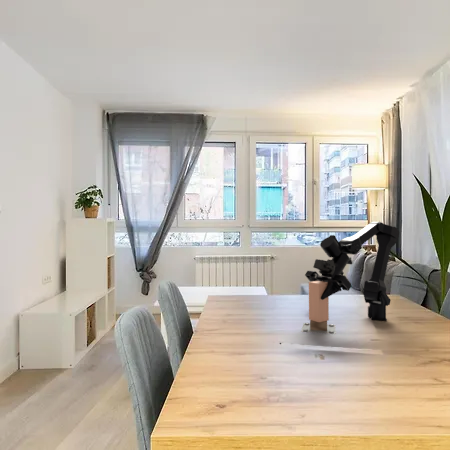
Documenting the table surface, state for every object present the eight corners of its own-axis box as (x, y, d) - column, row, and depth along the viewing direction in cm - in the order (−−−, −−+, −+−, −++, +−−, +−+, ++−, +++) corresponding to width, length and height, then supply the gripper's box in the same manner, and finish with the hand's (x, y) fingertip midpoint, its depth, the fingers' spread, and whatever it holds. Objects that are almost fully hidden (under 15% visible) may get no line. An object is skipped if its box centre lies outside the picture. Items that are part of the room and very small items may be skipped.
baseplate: (335, 328, 150) (335, 324, 150) (335, 337, 139) (335, 332, 139) (303, 326, 154) (303, 322, 154) (301, 335, 142) (301, 330, 142)
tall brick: (318, 317, 150) (318, 280, 149) (328, 320, 145) (328, 282, 145) (309, 319, 147) (308, 282, 147) (318, 322, 143) (318, 283, 143)
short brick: (327, 326, 148) (327, 318, 148) (327, 331, 143) (327, 322, 142) (310, 325, 150) (310, 317, 150) (310, 329, 144) (310, 321, 144)
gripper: (308, 250, 156) (287, 280, 150) (345, 253, 140) (323, 287, 134) (322, 268, 160) (302, 298, 154) (360, 273, 144) (339, 307, 139)
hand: (315, 297), depth 145 cm, fingers open, 5 cm apart
